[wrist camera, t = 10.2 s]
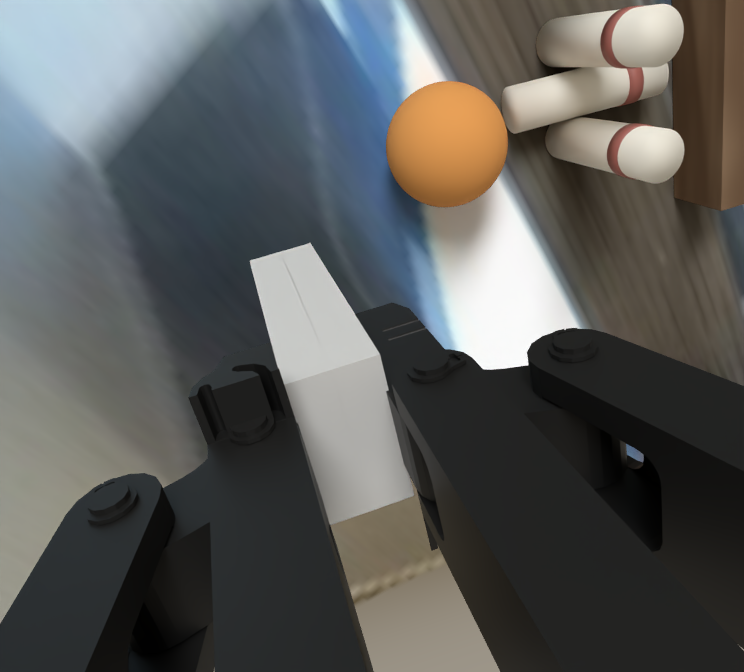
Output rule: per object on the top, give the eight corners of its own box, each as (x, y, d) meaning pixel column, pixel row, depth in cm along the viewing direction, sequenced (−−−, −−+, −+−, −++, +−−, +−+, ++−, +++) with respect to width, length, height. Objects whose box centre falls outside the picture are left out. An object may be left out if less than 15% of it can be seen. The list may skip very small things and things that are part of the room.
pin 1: (537, 73, 35) (632, 75, 27) (532, 23, 34) (630, 10, 26) (579, 62, 35) (685, 60, 27) (575, 11, 34) (684, -4, 26)
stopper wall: (674, 197, 40) (721, 210, 36) (670, -105, 33) (728, -126, 29) (702, 189, 40) (752, 201, 36) (704, -113, 33) (766, -135, 29)
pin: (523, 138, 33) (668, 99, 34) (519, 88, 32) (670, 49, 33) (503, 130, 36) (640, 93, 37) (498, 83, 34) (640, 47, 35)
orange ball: (519, 182, 35) (414, 187, 37) (514, 64, 32) (400, 77, 34) (498, 224, 30) (379, 226, 32) (490, 89, 27) (359, 102, 29)
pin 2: (546, 164, 37) (637, 190, 29) (542, 120, 36) (635, 135, 28) (585, 153, 37) (685, 176, 30) (582, 109, 36) (685, 121, 28)
